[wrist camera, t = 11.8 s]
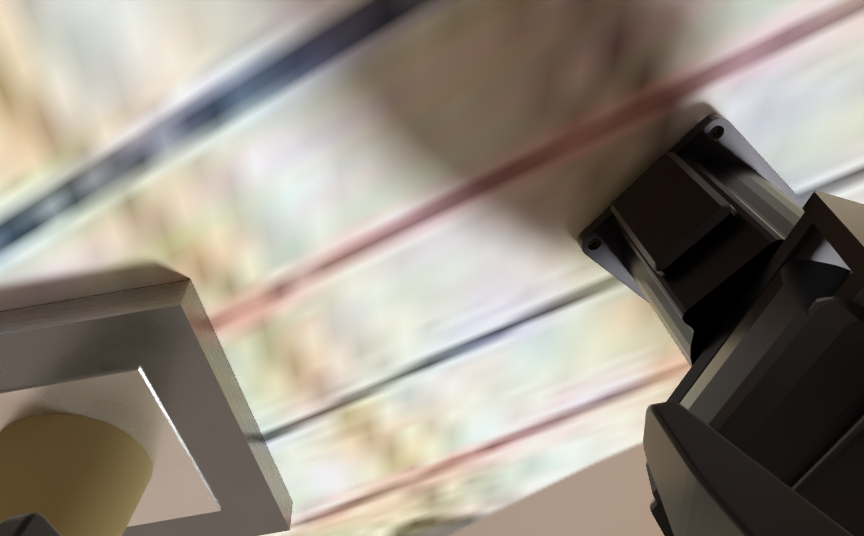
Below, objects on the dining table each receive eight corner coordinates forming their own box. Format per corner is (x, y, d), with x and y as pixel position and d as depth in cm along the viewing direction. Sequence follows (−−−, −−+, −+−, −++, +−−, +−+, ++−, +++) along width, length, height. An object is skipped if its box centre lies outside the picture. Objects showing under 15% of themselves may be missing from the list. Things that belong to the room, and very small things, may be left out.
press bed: (190, 279, 22) (179, 306, 21) (292, 502, 30) (289, 532, 29) (-188, 343, 22) (-223, 374, 21) (16, 550, 30) (0, 581, 29)
